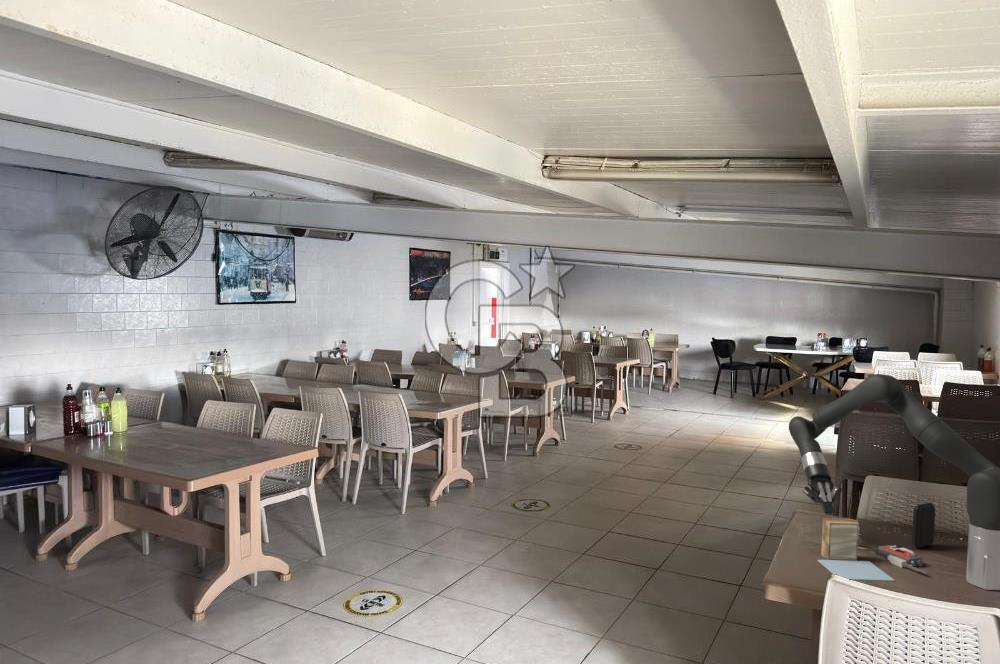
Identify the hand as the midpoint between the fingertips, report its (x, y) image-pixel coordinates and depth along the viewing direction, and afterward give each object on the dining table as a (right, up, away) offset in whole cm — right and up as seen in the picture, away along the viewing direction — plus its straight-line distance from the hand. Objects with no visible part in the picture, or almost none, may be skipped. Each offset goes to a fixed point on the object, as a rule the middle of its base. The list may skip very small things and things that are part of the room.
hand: (829, 514), depth 231 cm
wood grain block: (0, -12, -7) cm, 14 cm away
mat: (-1, -13, -18) cm, 22 cm away
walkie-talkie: (+19, -13, -11) cm, 25 cm away
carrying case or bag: (+34, -12, +5) cm, 36 cm away
